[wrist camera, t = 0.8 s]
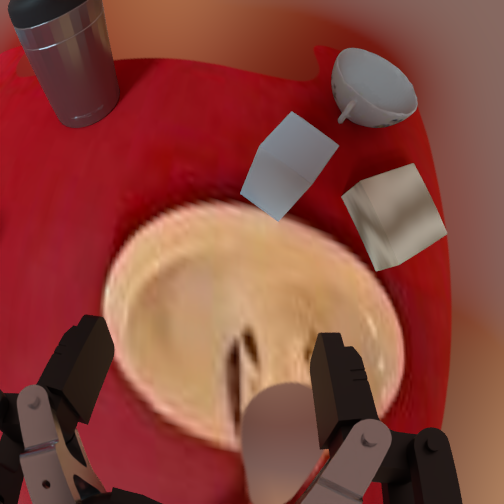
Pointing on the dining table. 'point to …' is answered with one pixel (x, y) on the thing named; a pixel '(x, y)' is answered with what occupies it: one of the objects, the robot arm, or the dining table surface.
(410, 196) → the birch block
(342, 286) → the dining table surface
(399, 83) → the teacup
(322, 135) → the pale blue tall cuboid
